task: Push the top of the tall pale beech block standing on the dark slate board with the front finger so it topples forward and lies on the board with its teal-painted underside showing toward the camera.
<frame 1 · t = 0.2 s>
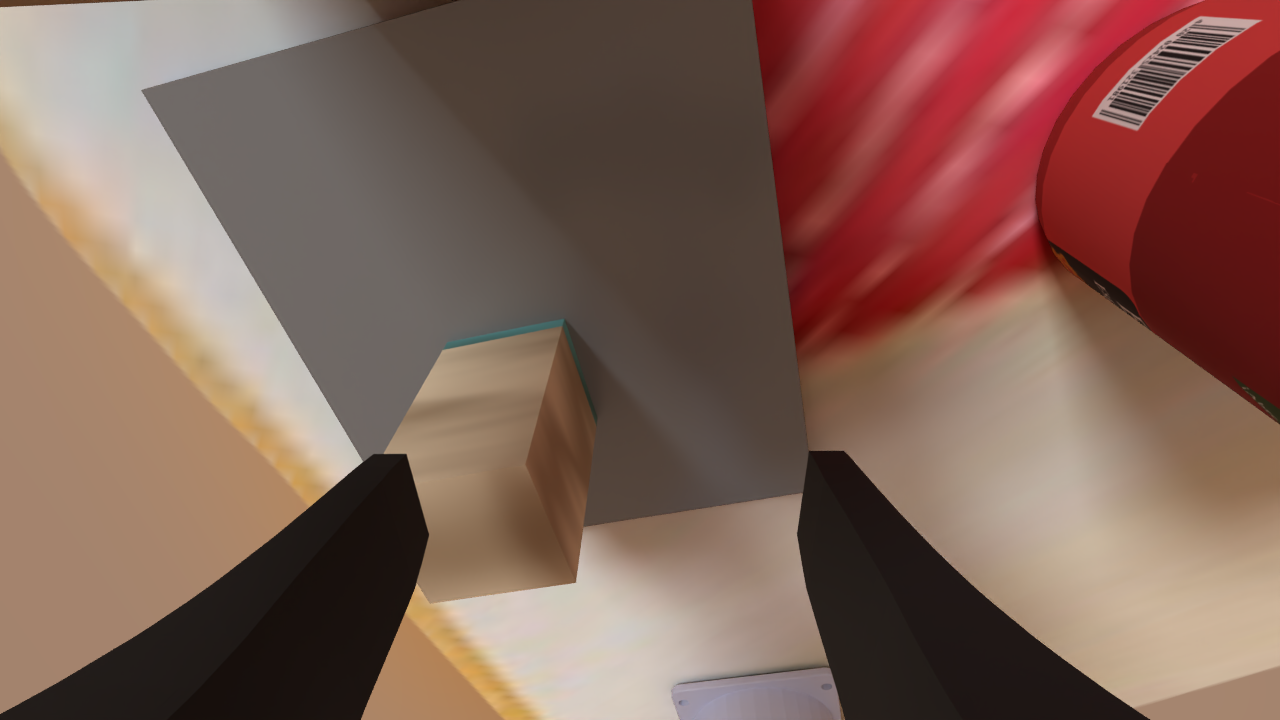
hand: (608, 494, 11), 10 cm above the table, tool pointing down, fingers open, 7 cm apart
beech block: (524, 381, 21), point 1 cm above the table, touching slate board
slate board: (538, 313, 21), on the table
canned food: (1165, 147, 18), on the table
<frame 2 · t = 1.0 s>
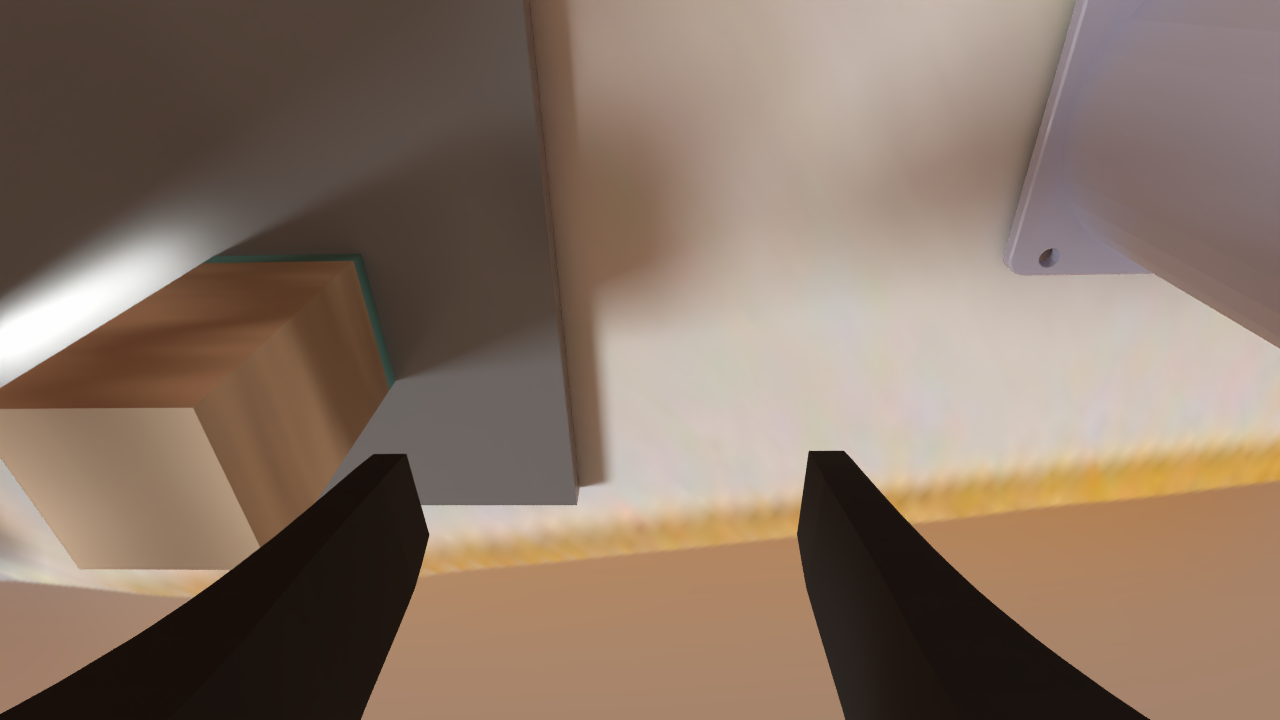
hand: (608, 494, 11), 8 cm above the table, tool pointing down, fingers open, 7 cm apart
beech block: (309, 321, 18), point 1 cm above the table, touching slate board
slate board: (244, 278, 18), on the table
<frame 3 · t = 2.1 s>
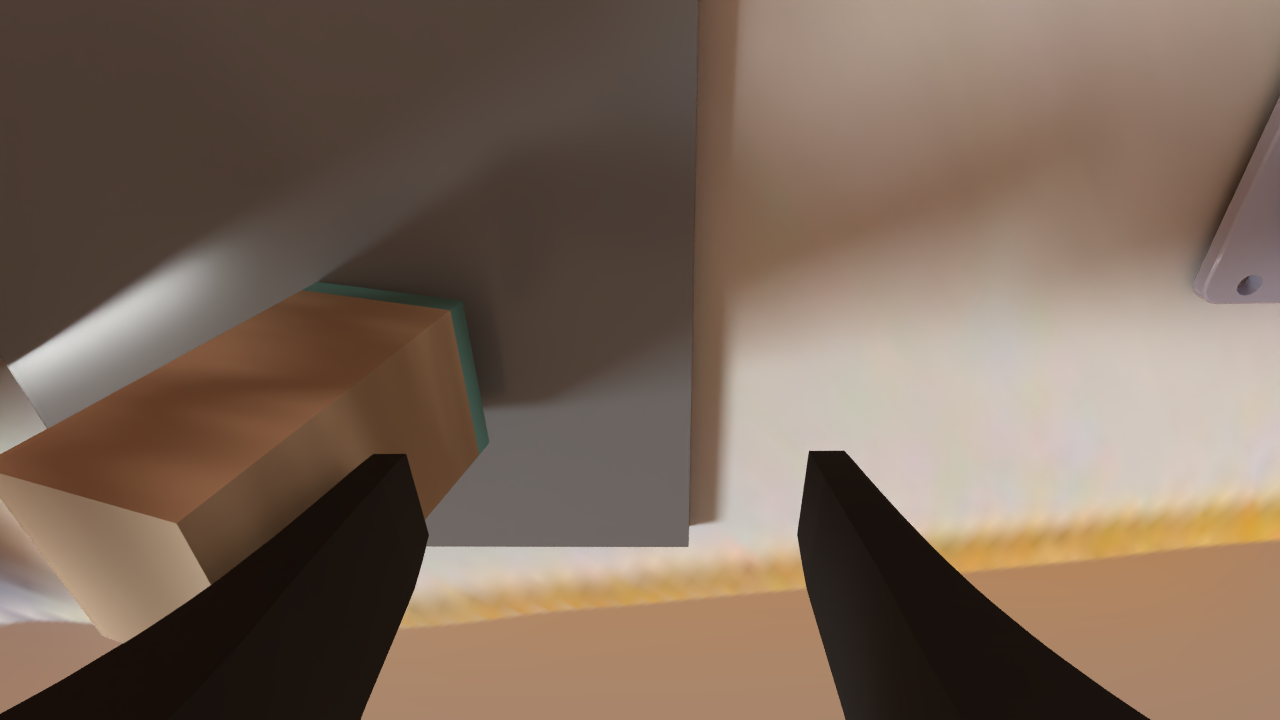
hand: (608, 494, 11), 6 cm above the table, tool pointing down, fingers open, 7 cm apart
beech block: (405, 364, 16), point 1 cm above the table, tilted 17°, touching slate board
slate board: (342, 304, 16), on the table
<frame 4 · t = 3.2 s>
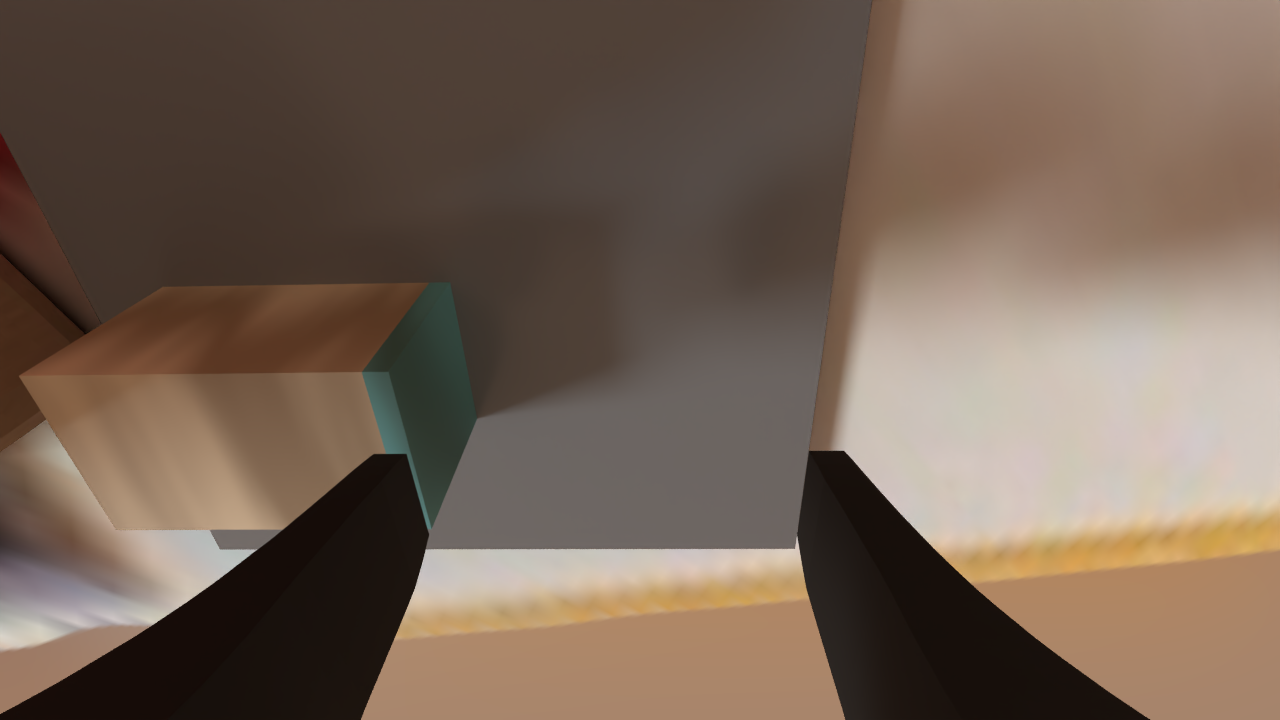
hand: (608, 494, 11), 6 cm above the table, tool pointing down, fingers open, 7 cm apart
beech block: (441, 399, 14), point 3 cm above the table, tilted 90°, touching slate board
slate board: (466, 305, 16), on the table
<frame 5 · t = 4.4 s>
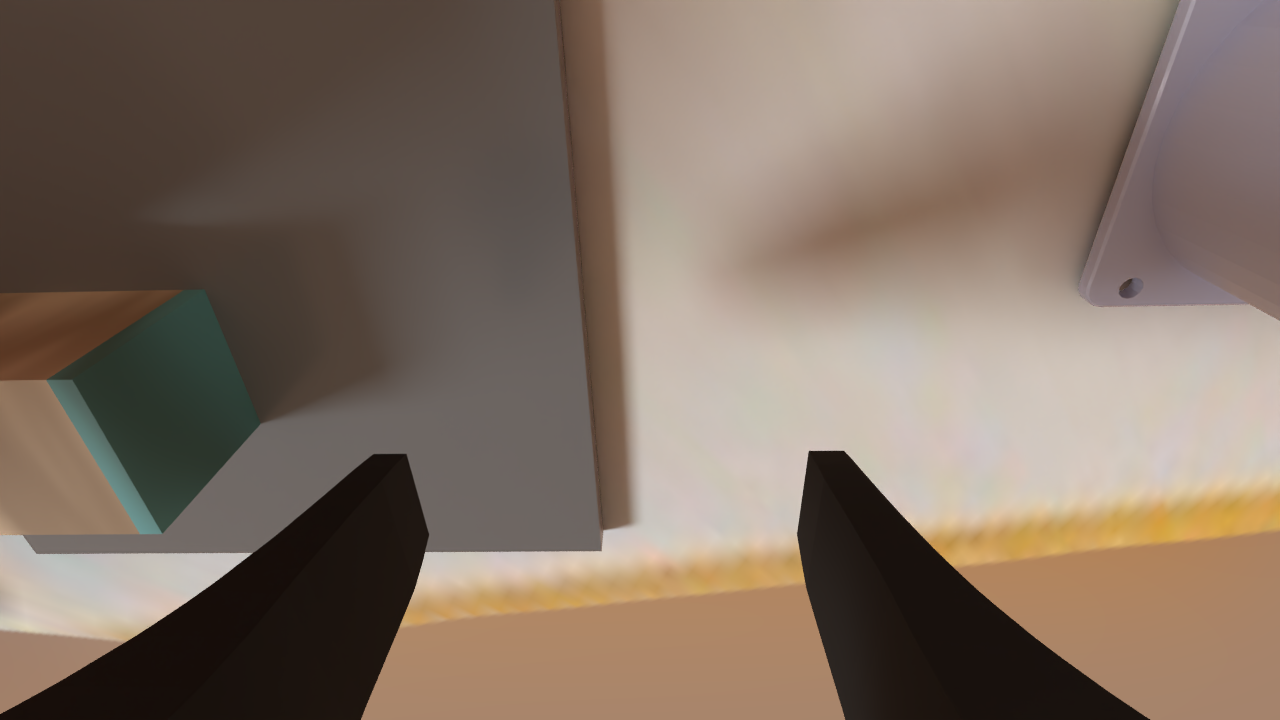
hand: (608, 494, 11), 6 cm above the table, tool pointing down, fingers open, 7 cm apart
beech block: (184, 405, 14), point 3 cm above the table, tilted 90°, touching slate board
slate board: (238, 311, 16), on the table
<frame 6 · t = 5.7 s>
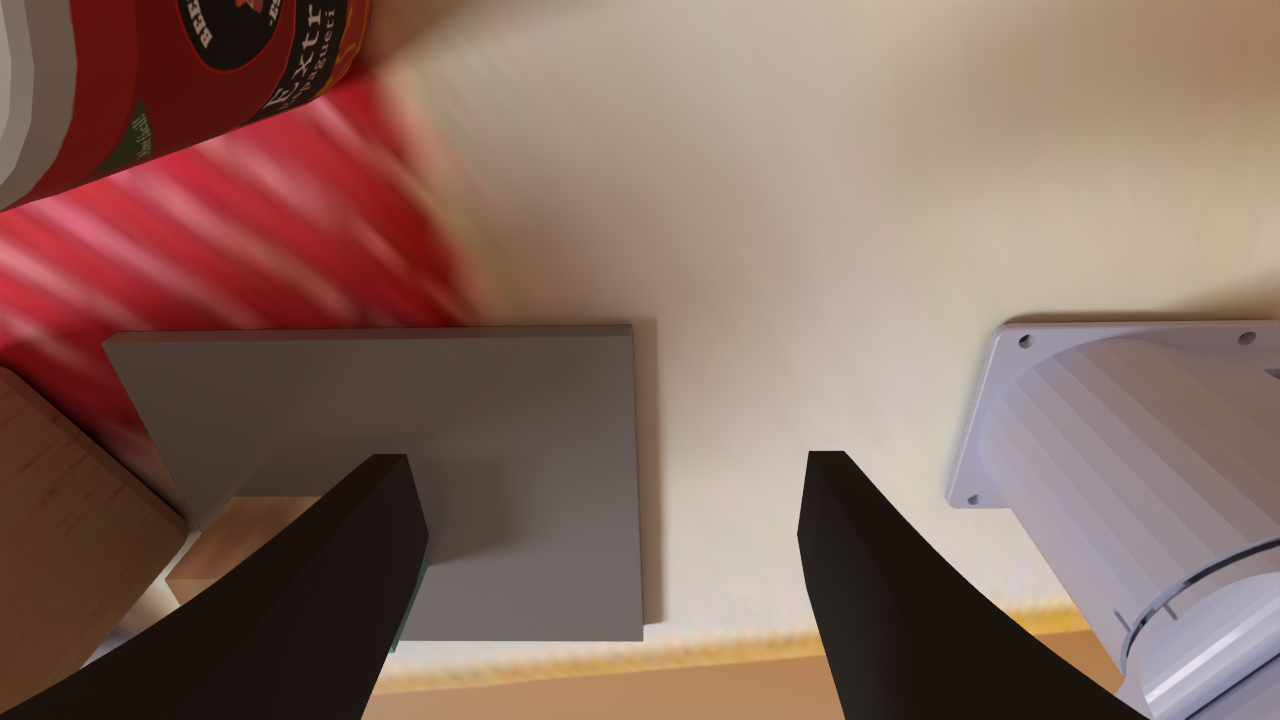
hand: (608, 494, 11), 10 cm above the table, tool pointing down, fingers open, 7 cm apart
beech block: (400, 572, 24), point 3 cm above the table, tilted 90°, touching slate board
slate board: (419, 500, 26), on the table
block: (34, 480, 26), on the table
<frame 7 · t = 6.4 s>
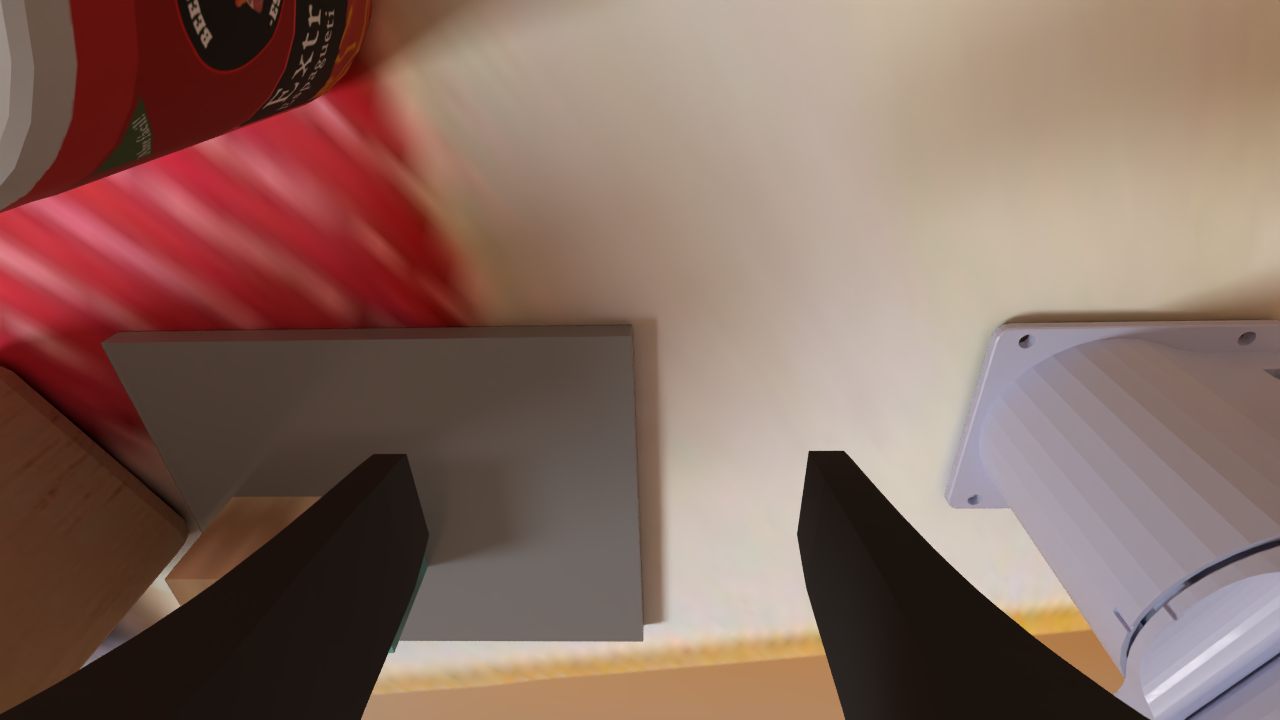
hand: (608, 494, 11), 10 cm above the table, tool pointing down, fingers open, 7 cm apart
beech block: (400, 572, 24), point 3 cm above the table, tilted 90°, touching slate board
slate board: (419, 500, 26), on the table
block: (34, 480, 26), on the table
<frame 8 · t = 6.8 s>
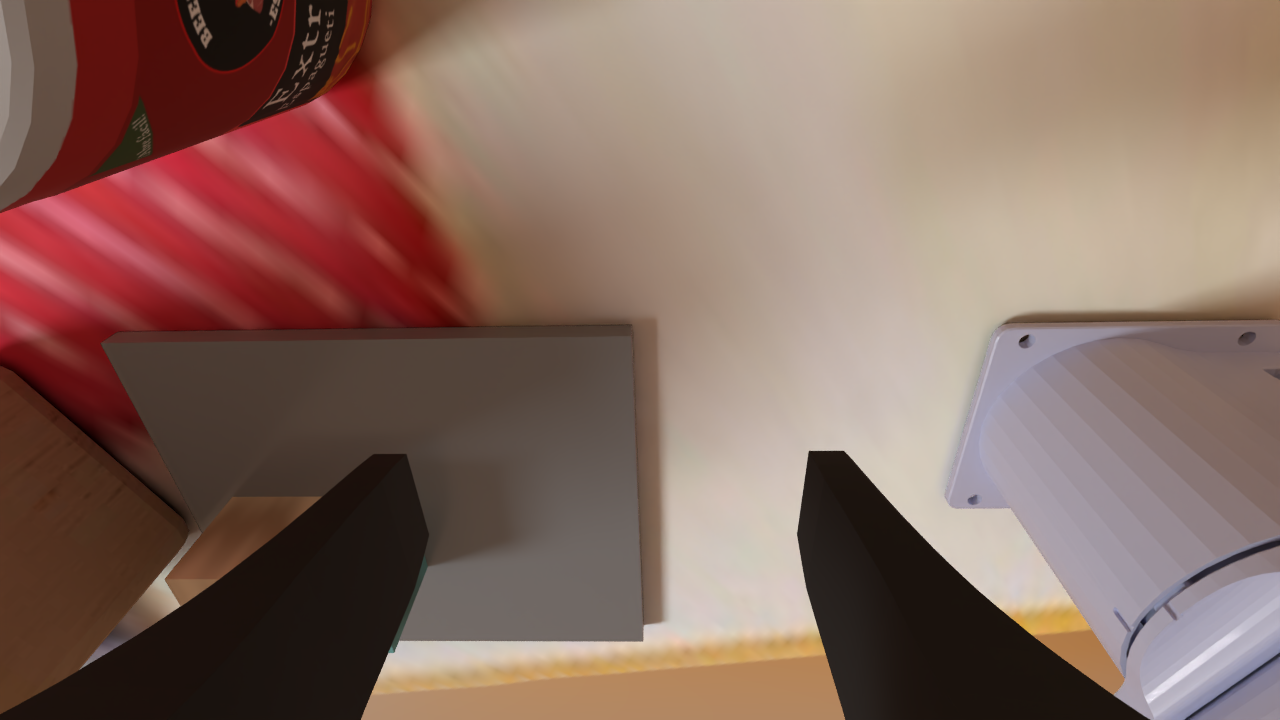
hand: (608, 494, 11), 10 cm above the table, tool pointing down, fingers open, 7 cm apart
beech block: (400, 572, 24), point 3 cm above the table, tilted 90°, touching slate board
slate board: (419, 500, 26), on the table
block: (34, 480, 26), on the table
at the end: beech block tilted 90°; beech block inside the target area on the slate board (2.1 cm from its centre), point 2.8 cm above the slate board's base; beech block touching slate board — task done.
